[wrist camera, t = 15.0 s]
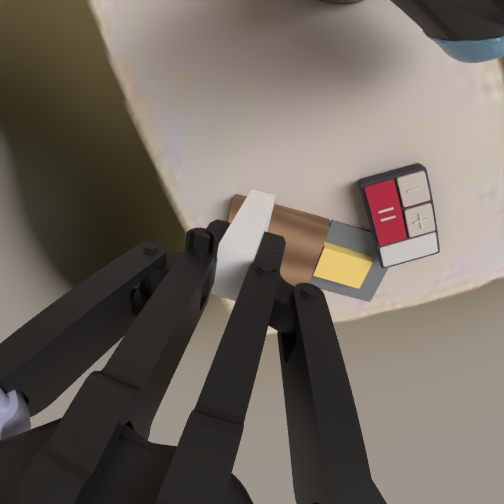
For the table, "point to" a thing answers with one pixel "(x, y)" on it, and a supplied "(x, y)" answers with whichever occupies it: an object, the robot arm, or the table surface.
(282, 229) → the brown wooden slab
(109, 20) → the table surface
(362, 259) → the butter yellow block
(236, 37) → the table surface
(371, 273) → the mat
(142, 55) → the table surface
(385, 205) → the calculator
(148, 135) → the table surface
